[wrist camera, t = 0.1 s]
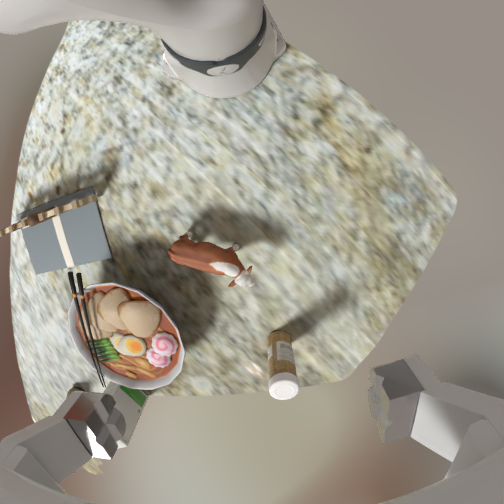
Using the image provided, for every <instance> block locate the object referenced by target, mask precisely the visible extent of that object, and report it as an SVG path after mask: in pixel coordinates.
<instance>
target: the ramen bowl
mask: <svg viewBox="0 0 504 504" xmlns="http://www.w3.org/2000/svg"><path fill="white" fill-rule="evenodd" d="M76 276H77V282H78V287H79V292H78V293H77V292H76V287H75V282H74V277H73V272H68V277H69V281H70V285H71V289H72V294H73V300H72V302H71V305H70V307H69V310H68V327H69V333H70V335H71V337H72V340H73V342H74V344H75V346H76V348H77V350H78V352H79V353H80V354H81V356H82V357H83V358H84V359H85V360H86V362H87V363H88V364H89V365H90V366H91V367H92V368H93V369H94V370H95V371H97V373H98V376H99V378H100V375H99V373H100V374H101V376H102V379H103V376H104V377H106V378H107V379H108V380H110V381H112V382H114V383H117V384H120V385H122V386H125V387H128V388H131V389H143V390H153V389H157V388H160V387H163V386H166V385H169V384H170V383H171V382H172V381H173V380H174V379H175V378H176V377H177V376H178V375H179V374H180V373H181V371H182V367H183V362H184V357H185V350H184V346H183V343H182V340H181V337H180V333H179V330H178V328H177V325H176V324H175V323H174V321H173V320H172V319H171V317H170V316H169V315H168V313H167V312H166V311H165V309H164V308H163V306H162V305H161V304H159V303H158V302H157V301H155V300H154V299H152V298H151V297H150V296H148V295H147V294H145V293H144V292H143V291H141V290H138V289H135V288H132V287H129V286H126V285H123V284H120V283H114V282H112V283H101V284H91V285H89V286H87V287H86V288H84V289H83V283H82V276H81V273H77V274H76ZM100 381H101V383H102V380H101V378H100ZM103 382H104V379H103ZM104 385H105V382H104ZM102 386H103V383H102ZM103 387H104V386H103ZM105 388H106V385H105Z"/></svg>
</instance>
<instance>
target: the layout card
mask: <svg viewBox="0 0 504 504" xmlns="http://www.w3.org/2000/svg"><path fill="white" fill-rule="evenodd" d="M93 194H95V193H94V189H93V186H92V187H89V188H86V189H83V190H80V191H78V192H75V193H72V194H69V195H67V196H64V197H61V198H59V199H56V200H54V201H51V202H49V203H46V204H44V205H41V206H39V207H36V208H34V209H31V210H29V211H27V212H24V213H22V214H20V215H18V218H19V222H20V221H22V220H25V219H27V217H28V216H29V215H31V214H34V213H36V212H39V211H42V210H44V209H47V208H50V207H53V206H55V207H58V206H61V205H64V204H67V203H70V202H72V201H75V200H78V199H81V198H84V197H87V196H90V195H93ZM21 229H22V233H23V236H24V240H25V243H26V246H27V249H28V252H29V255H30V258H31V261H32V264H33V267H34V270H35V273H36V274H40V273H45V272H49V271H54V270H58V269H63V268H68V267H73V266H77V265H82V264H86V263H91V262H96V261H101V260H106V259H111V258H112V254H111V251H110V248H109V245H108V241H107V238H106V235H105V231H104V228H103V224H102V221H101V217H100V213H99V209H98V205H97V202H96V201H95V202H92V203H89V204H87V205H84V206H81V207H79V208H76V209H71V210H69V211H66V212H64V213H61V214H59V215H57V216H56V217H54V218H51V219H49V220H46V221H44V222H42V223H39V224H37V225H35V226H33V227H30V226H29V225H28V226H26V227H23V228H21Z"/></svg>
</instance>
